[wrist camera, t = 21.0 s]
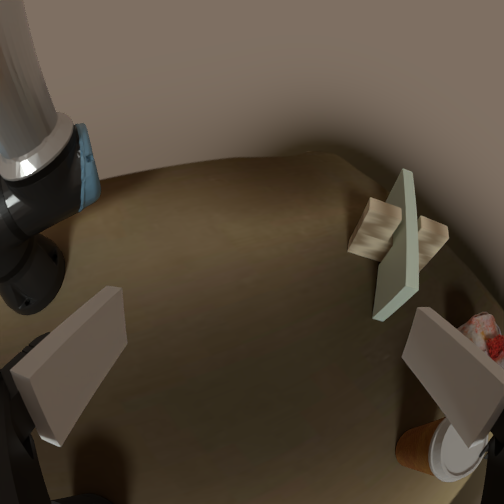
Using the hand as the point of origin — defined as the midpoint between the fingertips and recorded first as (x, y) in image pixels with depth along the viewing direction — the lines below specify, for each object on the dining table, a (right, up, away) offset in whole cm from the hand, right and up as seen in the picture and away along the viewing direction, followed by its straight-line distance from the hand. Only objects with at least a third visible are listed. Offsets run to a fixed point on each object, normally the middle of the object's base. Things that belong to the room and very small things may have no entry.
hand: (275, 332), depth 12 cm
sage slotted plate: (+22, +2, +36) cm, 42 cm away
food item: (+35, -16, +25) cm, 46 cm away
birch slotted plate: (+22, +2, +36) cm, 42 cm away
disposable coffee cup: (+22, -25, +18) cm, 38 cm away
